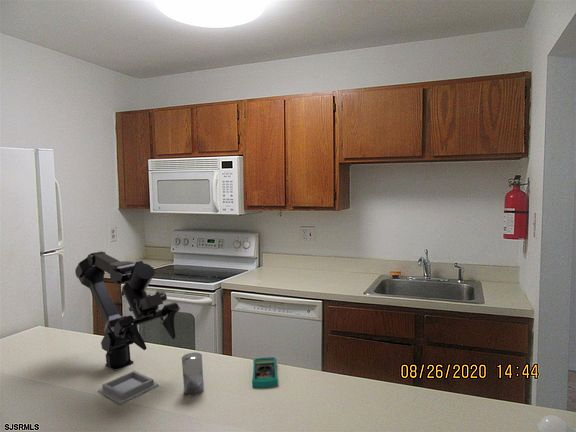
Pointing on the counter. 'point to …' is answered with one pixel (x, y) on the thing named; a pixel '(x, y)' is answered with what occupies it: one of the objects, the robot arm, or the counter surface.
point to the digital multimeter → (264, 372)
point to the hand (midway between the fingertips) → (160, 343)
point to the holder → (127, 387)
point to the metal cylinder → (192, 374)
